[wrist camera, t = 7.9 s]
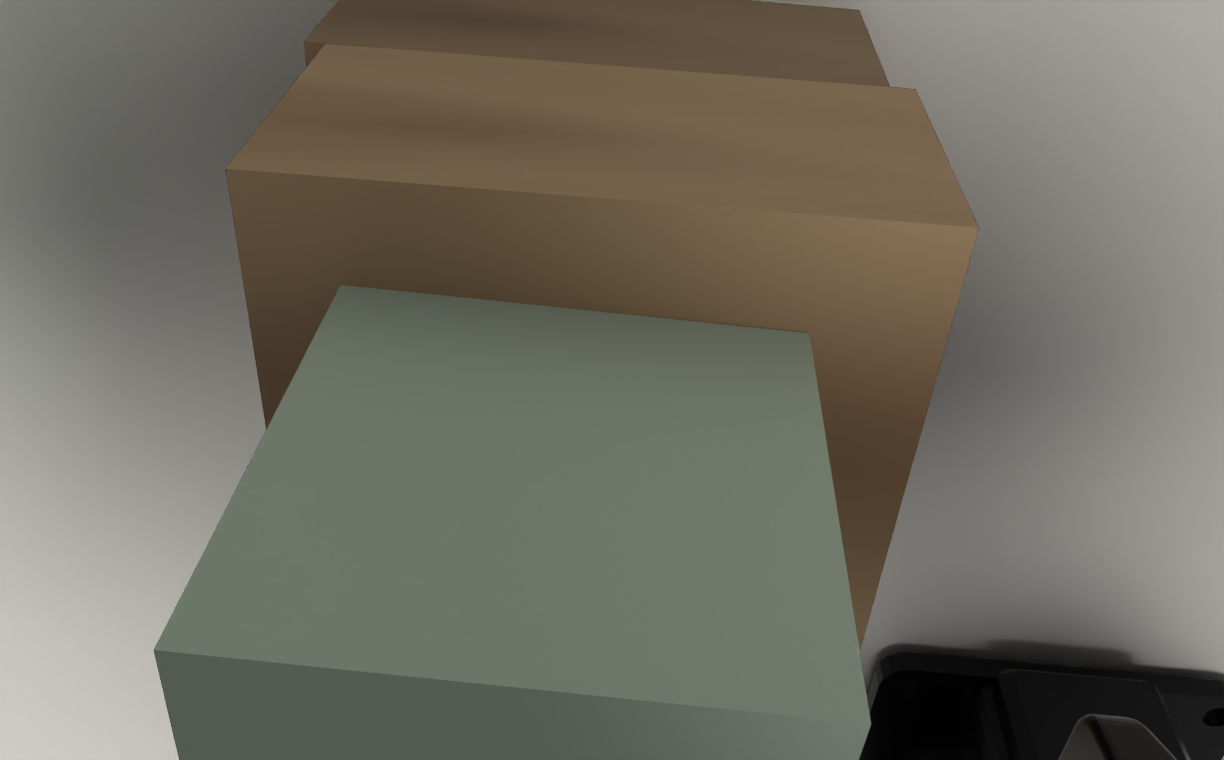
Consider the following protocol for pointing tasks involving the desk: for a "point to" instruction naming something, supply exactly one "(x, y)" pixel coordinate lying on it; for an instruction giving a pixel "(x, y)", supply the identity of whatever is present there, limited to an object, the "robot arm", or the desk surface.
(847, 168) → the brown square block
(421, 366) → the sage block
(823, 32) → the block
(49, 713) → the desk surface
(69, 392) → the desk surface
